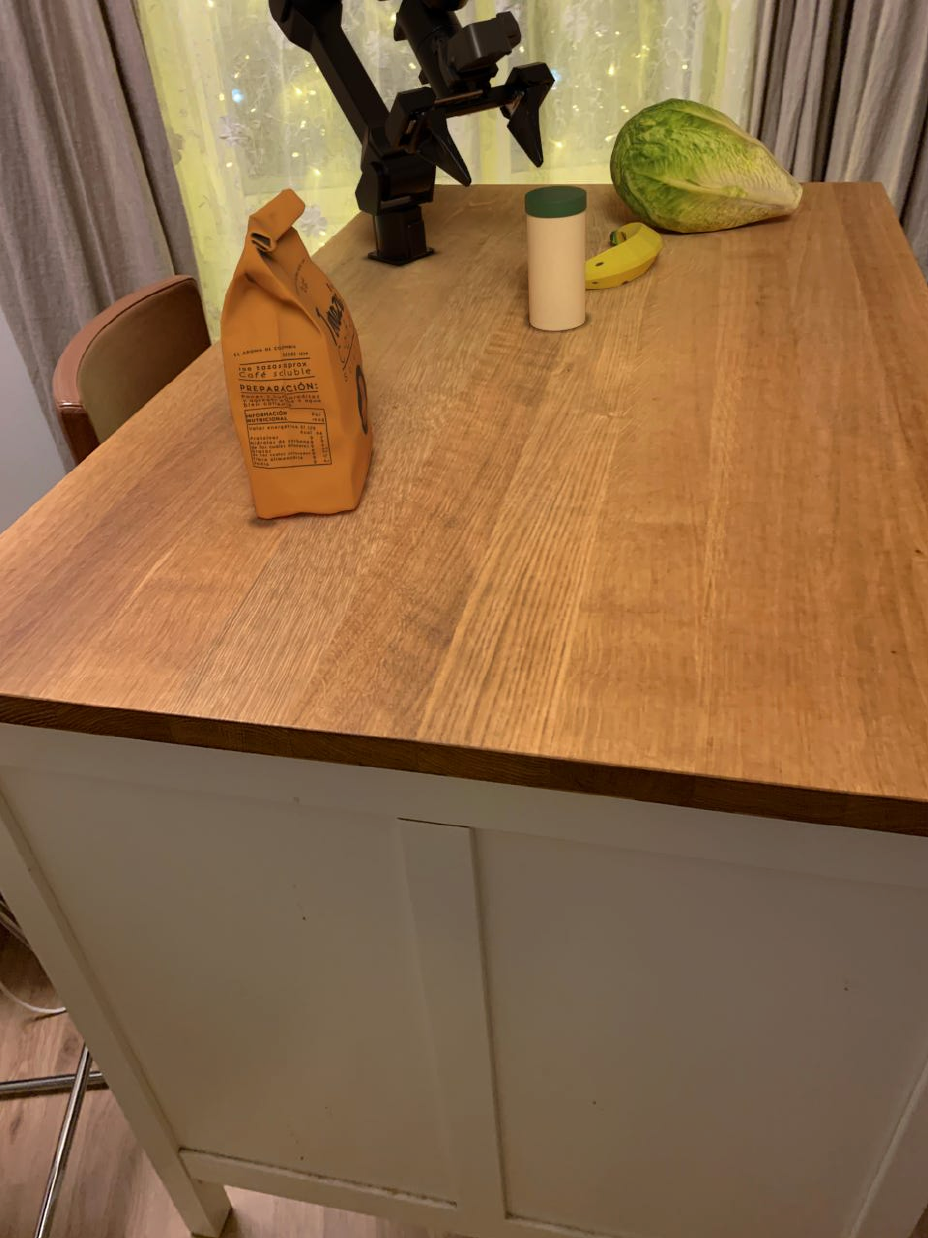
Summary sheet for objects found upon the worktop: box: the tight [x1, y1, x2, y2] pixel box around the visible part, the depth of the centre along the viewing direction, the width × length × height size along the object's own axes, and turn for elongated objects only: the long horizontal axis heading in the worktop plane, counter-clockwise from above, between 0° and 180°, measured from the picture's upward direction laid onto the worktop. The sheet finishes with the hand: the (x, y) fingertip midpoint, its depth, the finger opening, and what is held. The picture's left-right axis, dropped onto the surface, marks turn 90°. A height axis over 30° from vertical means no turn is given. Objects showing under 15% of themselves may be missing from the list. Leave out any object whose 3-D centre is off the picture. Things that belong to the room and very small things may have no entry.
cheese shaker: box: [524, 185, 588, 332], centre depth 102 cm, size 6×6×13 cm
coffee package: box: [219, 188, 374, 520], centre depth 74 cm, size 10×12×22 cm
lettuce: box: [609, 97, 804, 234], centre depth 124 cm, size 15×25×16 cm
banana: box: [585, 221, 664, 290], centre depth 117 cm, size 5×17×15 cm
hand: (505, 174), depth 103 cm, fingers open, 9 cm apart
